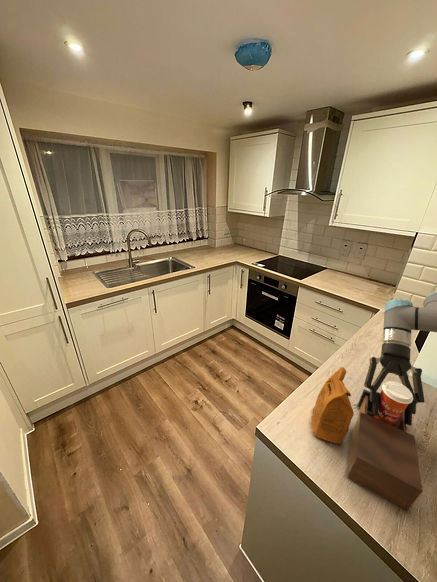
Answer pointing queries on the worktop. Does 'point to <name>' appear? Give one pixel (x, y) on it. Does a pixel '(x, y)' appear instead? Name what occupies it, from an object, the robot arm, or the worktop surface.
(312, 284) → the worktop surface
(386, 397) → the paper cup
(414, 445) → the cabinet
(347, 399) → the coffee package
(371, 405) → the drawer
